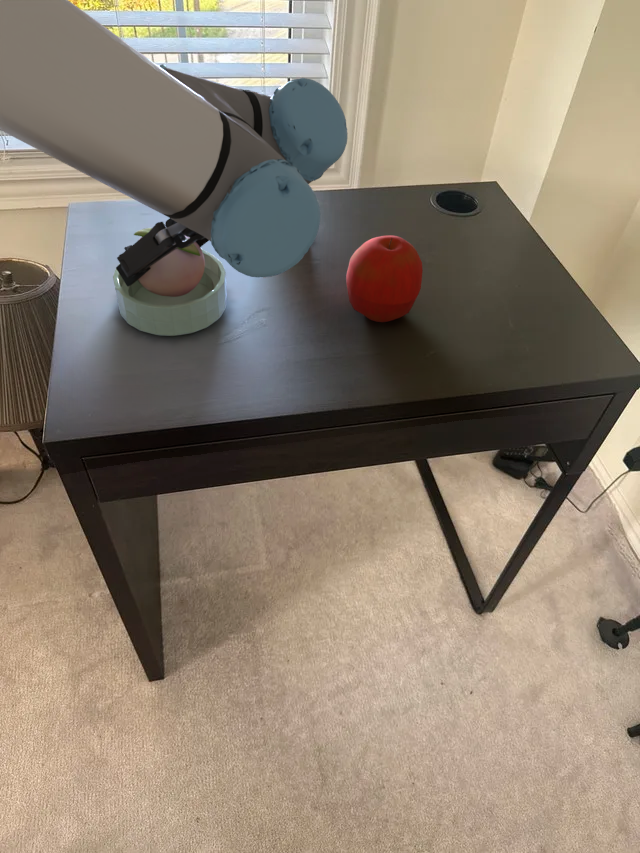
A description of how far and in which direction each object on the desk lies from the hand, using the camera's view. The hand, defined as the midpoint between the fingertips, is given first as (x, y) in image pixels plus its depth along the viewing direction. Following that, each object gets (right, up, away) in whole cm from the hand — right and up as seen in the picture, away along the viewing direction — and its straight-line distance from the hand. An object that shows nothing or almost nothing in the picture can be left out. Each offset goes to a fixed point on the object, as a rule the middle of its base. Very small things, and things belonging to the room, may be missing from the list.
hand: (153, 261), depth 84 cm
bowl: (+2, -5, +3) cm, 6 cm away
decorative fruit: (+2, -4, +2) cm, 5 cm away
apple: (+30, -6, +5) cm, 31 cm away
